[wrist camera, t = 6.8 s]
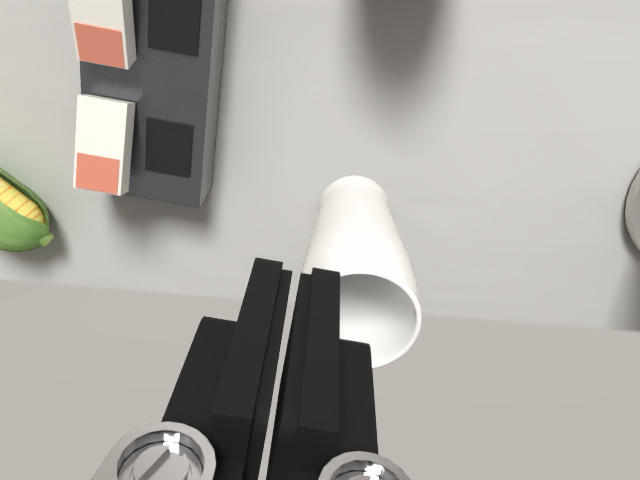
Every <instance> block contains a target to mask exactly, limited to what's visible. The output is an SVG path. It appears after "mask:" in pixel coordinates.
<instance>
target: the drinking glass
mask: <svg viewBox="0 0 640 480" xmlns="http://www.w3.org/2000/svg"><path fill="white" fill-rule="evenodd" d="M313 267H314V268H320V269H326V270H332V271H338V272H340V339H345V340H351V341H357V342H363V343H369V345H370V348H371V358H372V369H373V368H378V367H381V366H384V365H387V364H389V363H391V362H393V361H395V360H397V359H398V358H400V357H401V356H403V355H404V354H405V353H406V352H407V351H408V350H409V349H410V348H411V347H412V345H413V344H414V343H415V341H416V339H417V337H418V335H419V333H420V329H421V324H422V312H421V305H420V298H419V291H418V286H417V282H416V278H415V274H414V270H413V267H412V264H411V261H410V258H409V256H408V253H407V250H406V248H405V245H404V243H403V241H402V238H401V236H400V233H399V231H398V228H397V226H396V223H395V221H394V218H393V216H392V213H391V210H390V207H389V202H388V198H387V196H386V194H385V192H384V191H383V189H382V188H381V187H380V186H379V185H378V184H377V183H376V182H374V181H373V180H371V179H369V178H366V177H362V176H346V177H342V178H340V179H338V180H336V181H334V182H333V183H331V184H330V185H329V186H328V187H327V188H326V190H325V191H324V193H323V194H322V196H321V199H320V203H319V210H318V215H317V219H316V222H315V226H314V229H313V233H312V236H311V239H310V243H309V246H308V249H307V253H306V256H305V260H304V263H303V267H302V272H301V273H306V274H311V273H312V269H313Z"/></svg>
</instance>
